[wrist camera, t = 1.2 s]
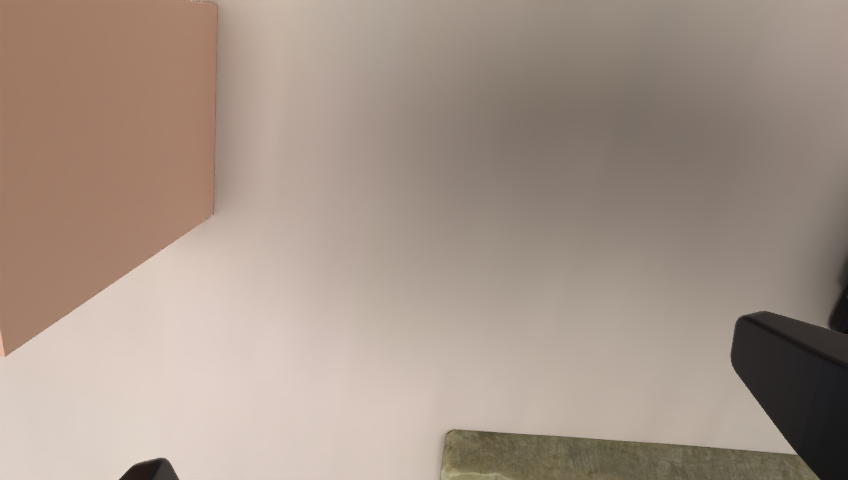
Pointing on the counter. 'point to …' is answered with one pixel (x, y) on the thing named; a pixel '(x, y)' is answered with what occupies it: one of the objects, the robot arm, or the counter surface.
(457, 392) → the counter surface
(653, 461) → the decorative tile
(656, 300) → the counter surface
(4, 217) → the tile
